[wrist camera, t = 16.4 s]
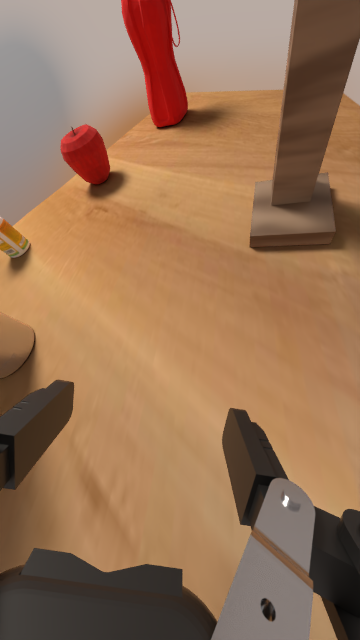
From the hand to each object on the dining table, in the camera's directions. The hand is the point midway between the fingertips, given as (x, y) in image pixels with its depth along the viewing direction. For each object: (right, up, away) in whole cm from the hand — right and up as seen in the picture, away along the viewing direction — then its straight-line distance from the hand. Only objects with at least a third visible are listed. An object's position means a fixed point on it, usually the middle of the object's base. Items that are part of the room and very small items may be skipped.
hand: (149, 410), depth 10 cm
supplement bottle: (-35, +21, +37) cm, 55 cm away
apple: (-19, +40, +42) cm, 61 cm away
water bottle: (0, +61, +47) cm, 77 cm away
